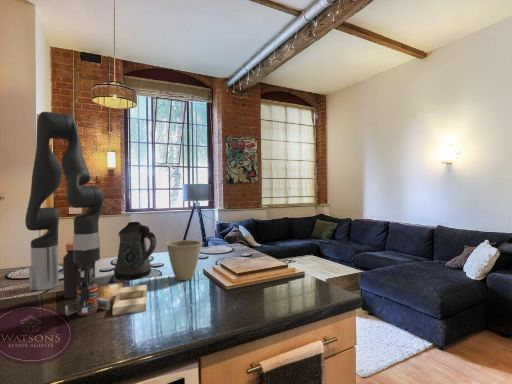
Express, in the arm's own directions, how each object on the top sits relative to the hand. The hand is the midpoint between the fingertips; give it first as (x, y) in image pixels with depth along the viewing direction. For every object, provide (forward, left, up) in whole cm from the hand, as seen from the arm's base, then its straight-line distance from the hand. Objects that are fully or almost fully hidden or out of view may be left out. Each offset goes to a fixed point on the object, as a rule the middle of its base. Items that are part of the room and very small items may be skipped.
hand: (87, 297), depth 95 cm
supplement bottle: (0, 0, -5) cm, 5 cm away
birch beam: (+13, +4, -5) cm, 15 cm away
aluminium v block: (0, +4, -5) cm, 6 cm away
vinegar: (-8, +19, -5) cm, 22 cm away
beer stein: (+13, +40, -5) cm, 43 cm away
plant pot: (+34, +26, -5) cm, 43 cm away
